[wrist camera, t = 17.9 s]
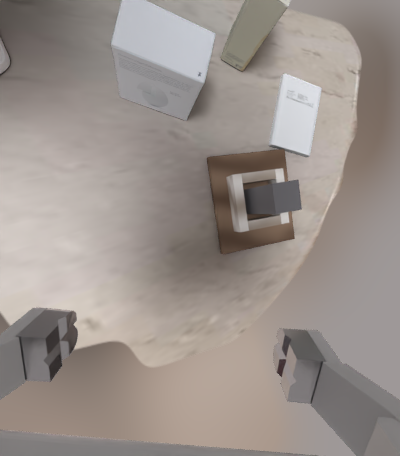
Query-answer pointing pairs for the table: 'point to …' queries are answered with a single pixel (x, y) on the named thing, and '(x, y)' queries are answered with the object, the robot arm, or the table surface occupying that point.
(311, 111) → the external hard drive
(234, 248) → the socket board
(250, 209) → the plug
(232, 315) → the table surface
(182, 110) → the skincare box
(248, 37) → the skincare box
